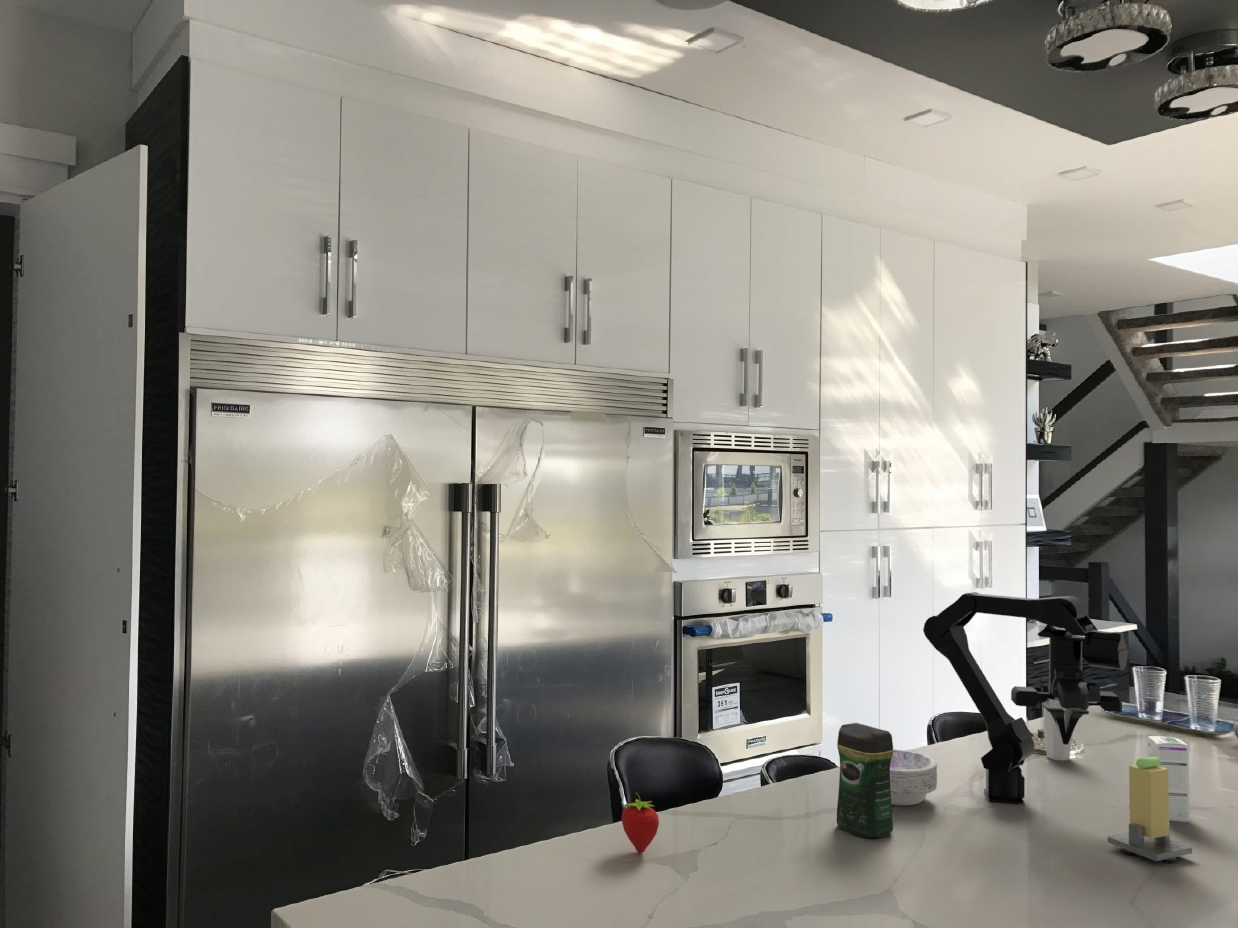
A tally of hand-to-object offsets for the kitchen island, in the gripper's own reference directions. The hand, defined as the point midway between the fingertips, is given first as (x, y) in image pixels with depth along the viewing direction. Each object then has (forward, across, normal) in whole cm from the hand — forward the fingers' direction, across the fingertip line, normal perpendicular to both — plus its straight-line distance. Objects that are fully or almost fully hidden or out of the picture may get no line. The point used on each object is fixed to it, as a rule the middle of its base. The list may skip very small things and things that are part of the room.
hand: (1065, 743), depth 183 cm
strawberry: (+13, -75, -41) cm, 86 cm away
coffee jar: (+13, -38, -20) cm, 45 cm away
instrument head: (+9, +9, -19) cm, 23 cm away
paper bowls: (+13, -31, 0) cm, 34 cm away
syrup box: (+13, +19, +3) cm, 23 cm away
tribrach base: (+13, +9, -19) cm, 25 cm away
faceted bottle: (+13, +8, +41) cm, 44 cm away
